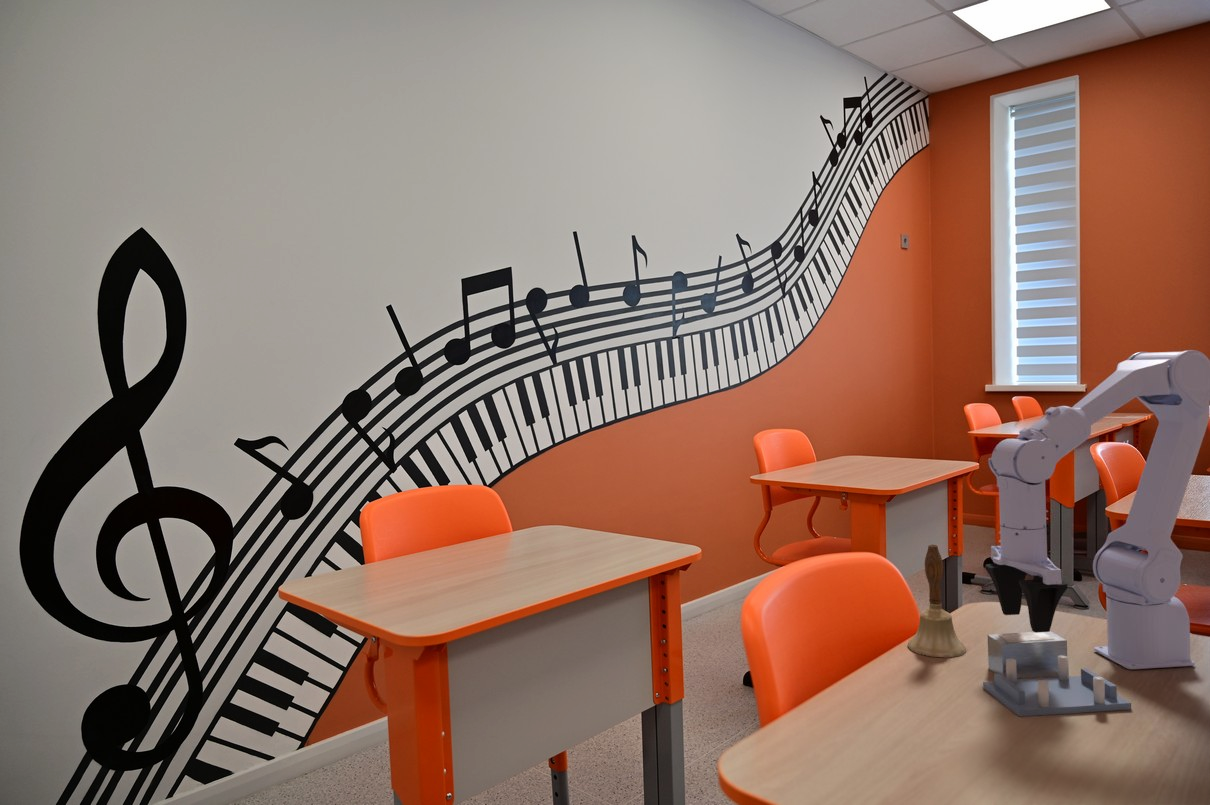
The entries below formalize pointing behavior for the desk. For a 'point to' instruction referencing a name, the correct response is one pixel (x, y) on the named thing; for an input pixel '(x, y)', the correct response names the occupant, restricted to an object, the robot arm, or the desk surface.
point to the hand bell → (935, 617)
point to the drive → (1026, 653)
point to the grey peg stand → (1055, 692)
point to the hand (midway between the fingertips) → (1025, 622)
